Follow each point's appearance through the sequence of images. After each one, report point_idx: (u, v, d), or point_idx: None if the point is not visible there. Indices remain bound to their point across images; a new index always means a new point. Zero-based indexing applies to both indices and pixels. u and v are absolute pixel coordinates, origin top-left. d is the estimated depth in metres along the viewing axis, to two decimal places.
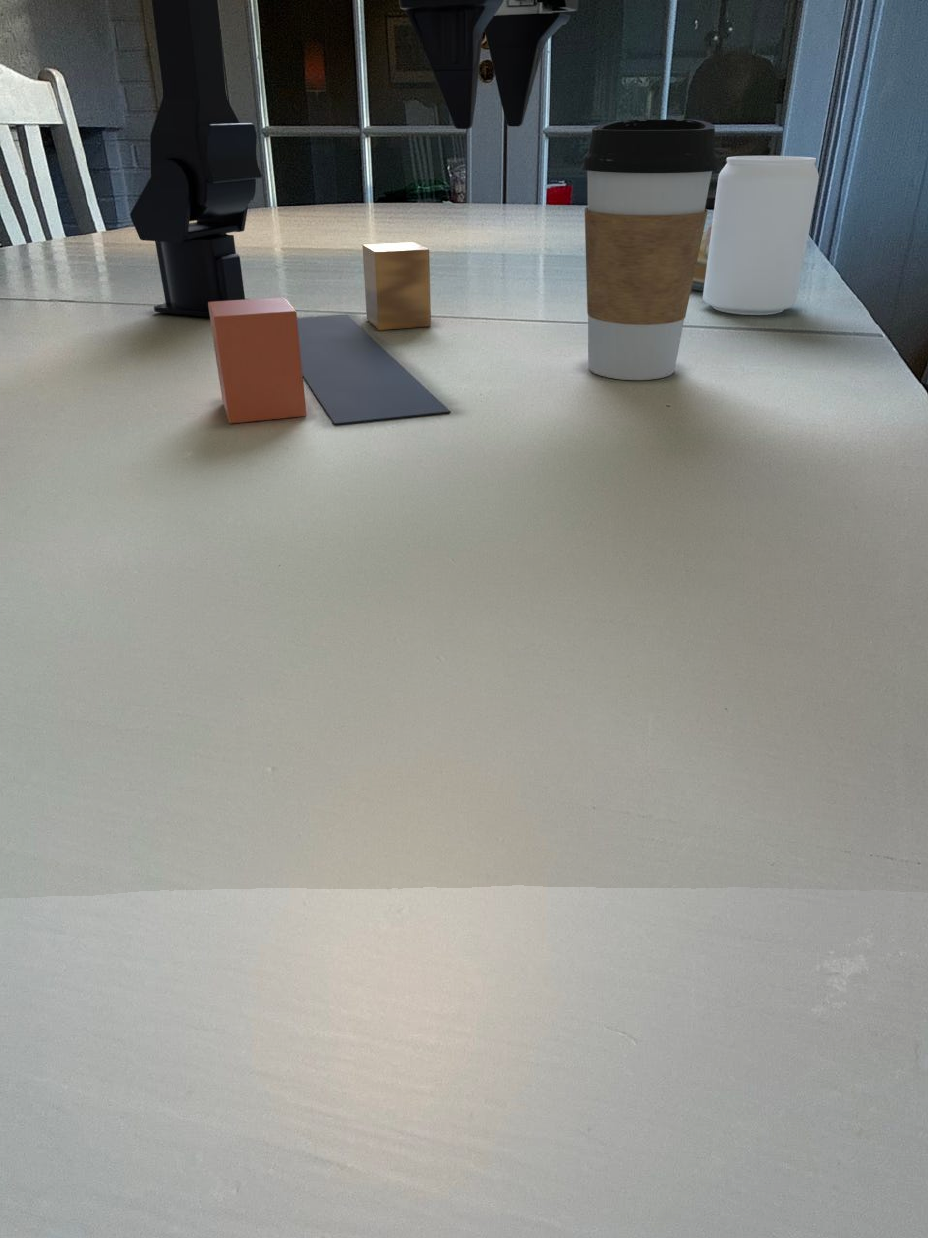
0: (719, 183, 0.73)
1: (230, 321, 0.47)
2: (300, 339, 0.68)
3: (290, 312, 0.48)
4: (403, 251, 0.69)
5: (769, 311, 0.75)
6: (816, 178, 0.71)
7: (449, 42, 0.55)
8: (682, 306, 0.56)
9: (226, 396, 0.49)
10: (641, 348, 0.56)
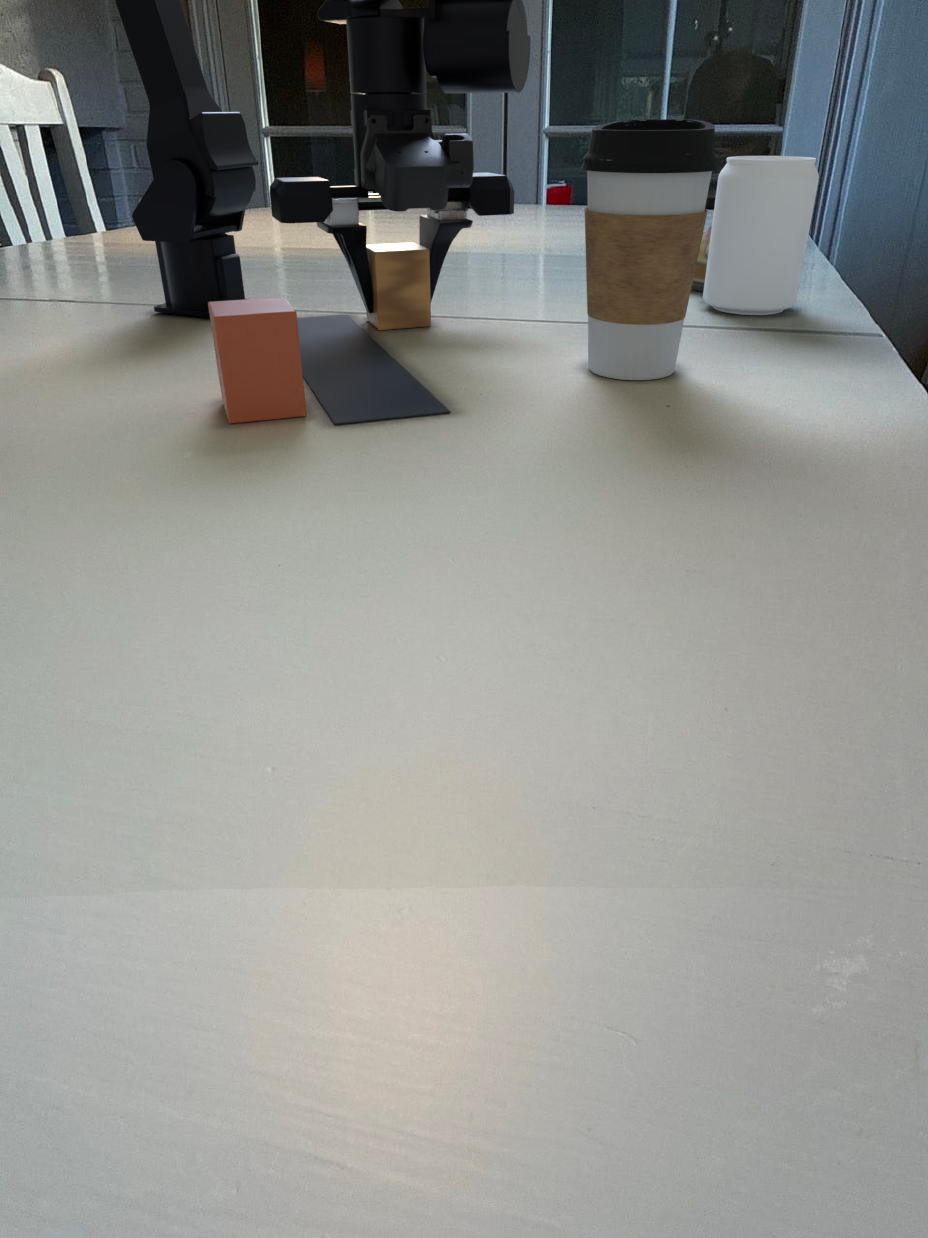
0: (719, 183, 0.73)
1: (230, 321, 0.47)
2: (300, 339, 0.68)
3: (290, 312, 0.48)
4: (403, 251, 0.69)
5: (769, 311, 0.75)
6: (816, 178, 0.71)
7: None
8: (682, 306, 0.56)
9: (226, 396, 0.49)
10: (641, 348, 0.56)
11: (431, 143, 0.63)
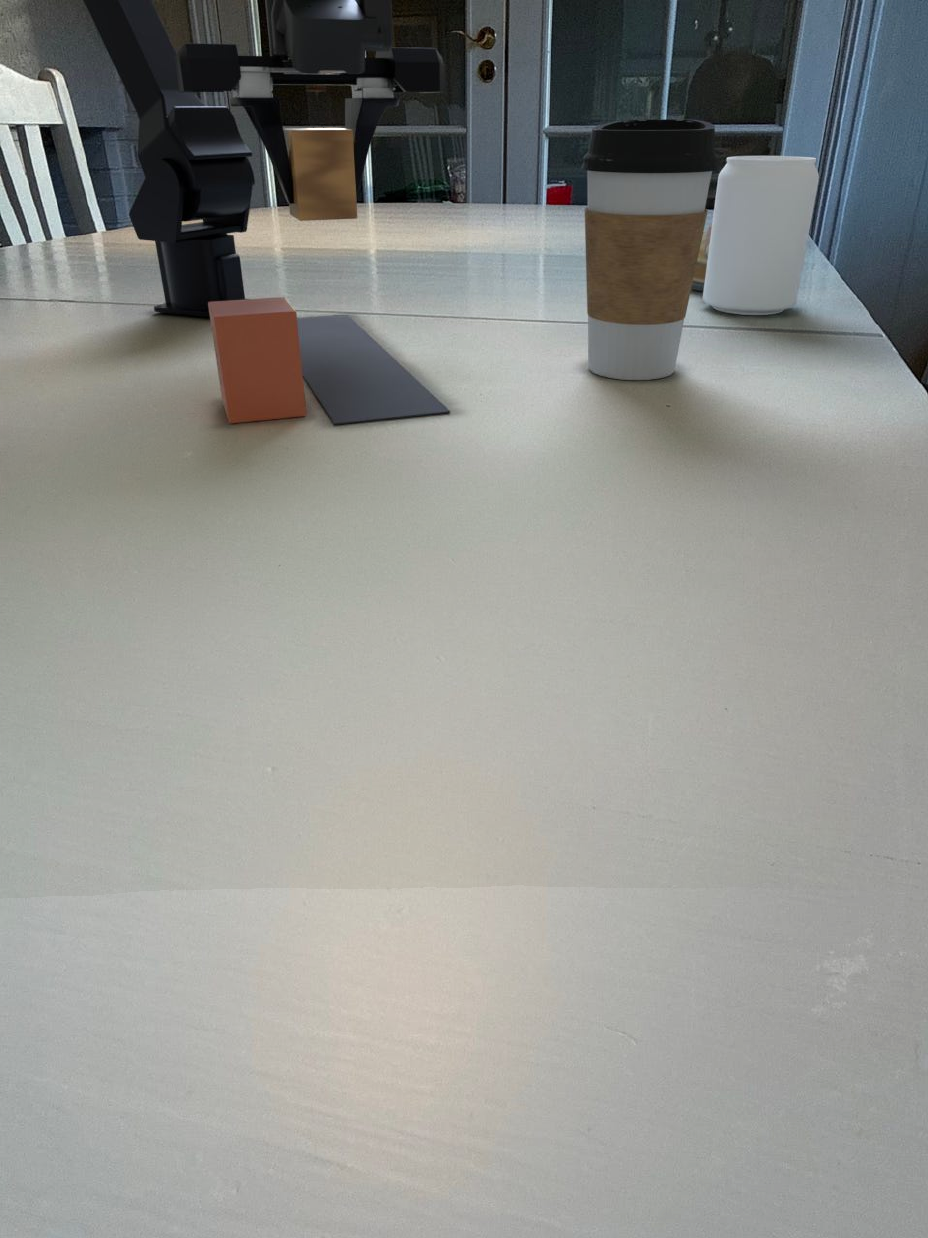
0: (719, 183, 0.73)
1: (230, 321, 0.47)
2: (300, 339, 0.68)
3: (290, 312, 0.48)
4: (323, 130, 0.63)
5: (769, 311, 0.75)
6: (816, 178, 0.71)
7: None
8: (682, 306, 0.56)
9: (226, 396, 0.49)
10: (641, 348, 0.56)
11: (346, 0, 0.57)
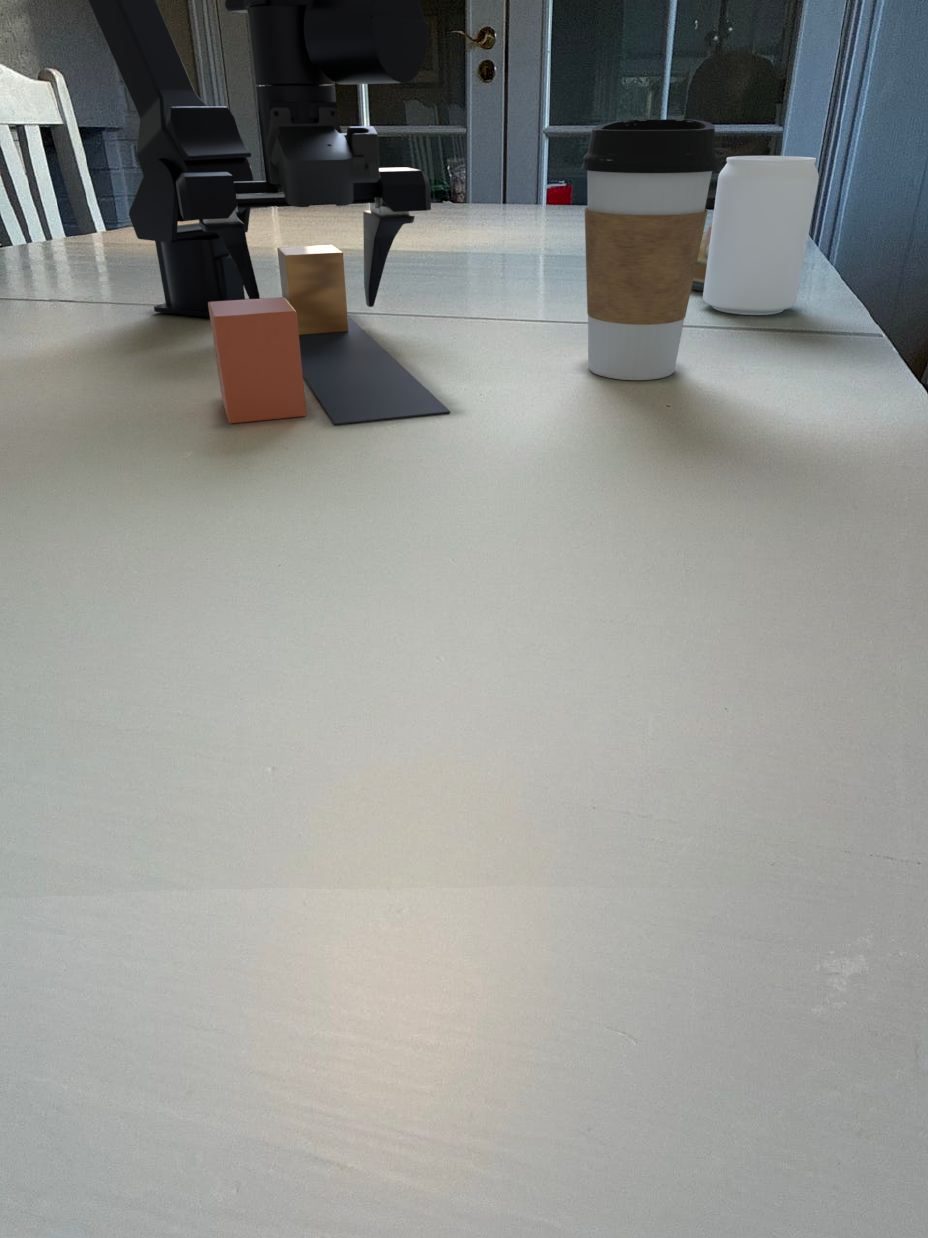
0: (719, 183, 0.73)
1: (230, 321, 0.47)
2: (300, 339, 0.68)
3: (290, 312, 0.48)
4: (315, 254, 0.67)
5: (769, 311, 0.75)
6: (816, 178, 0.71)
7: None
8: (682, 306, 0.56)
9: (226, 396, 0.49)
10: (641, 348, 0.56)
11: (336, 137, 0.61)
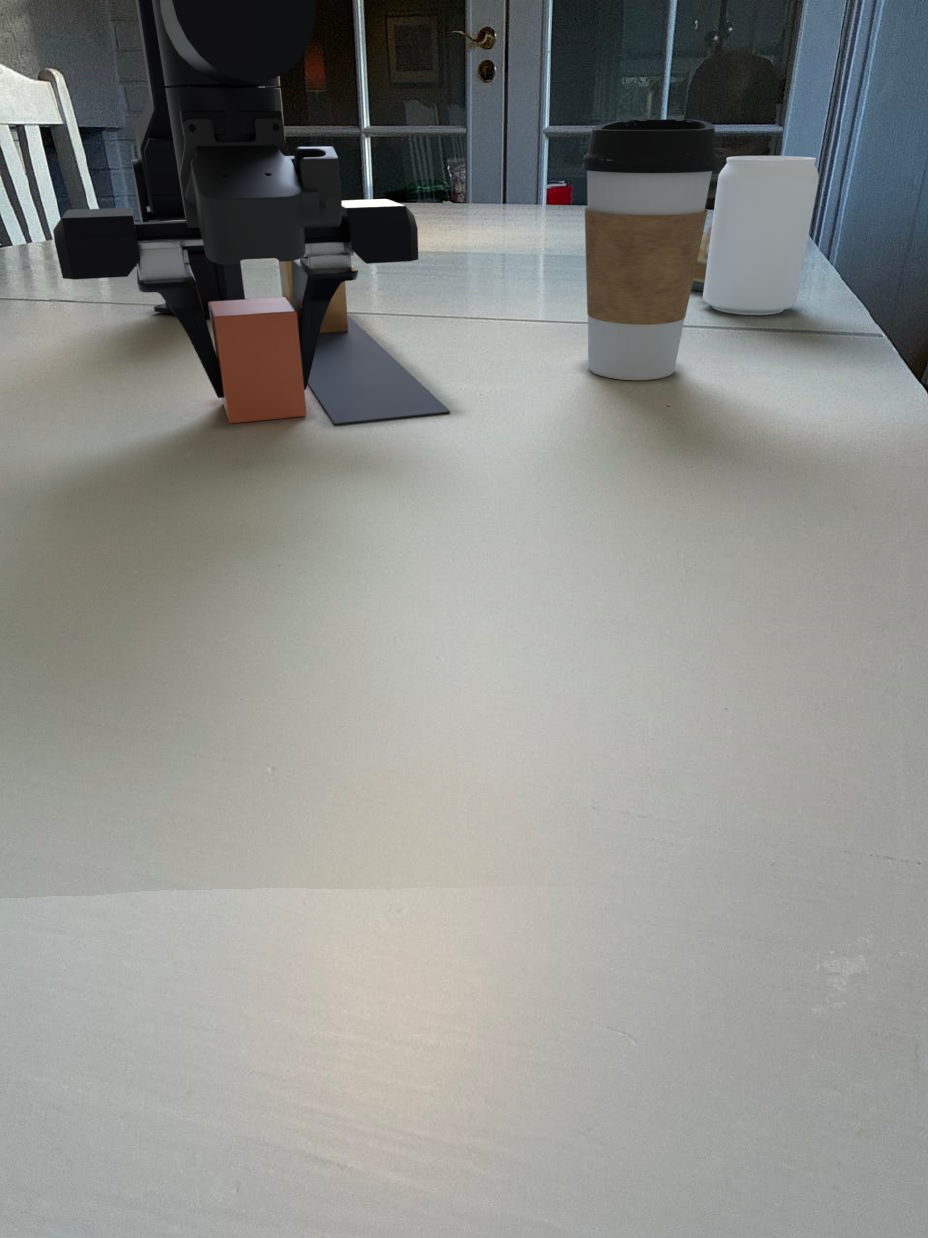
0: (719, 183, 0.73)
1: (230, 321, 0.48)
2: None
3: (290, 312, 0.48)
4: None
5: (769, 311, 0.75)
6: (816, 178, 0.71)
7: None
8: (682, 306, 0.56)
9: (226, 396, 0.49)
10: (641, 348, 0.56)
11: (279, 162, 0.42)
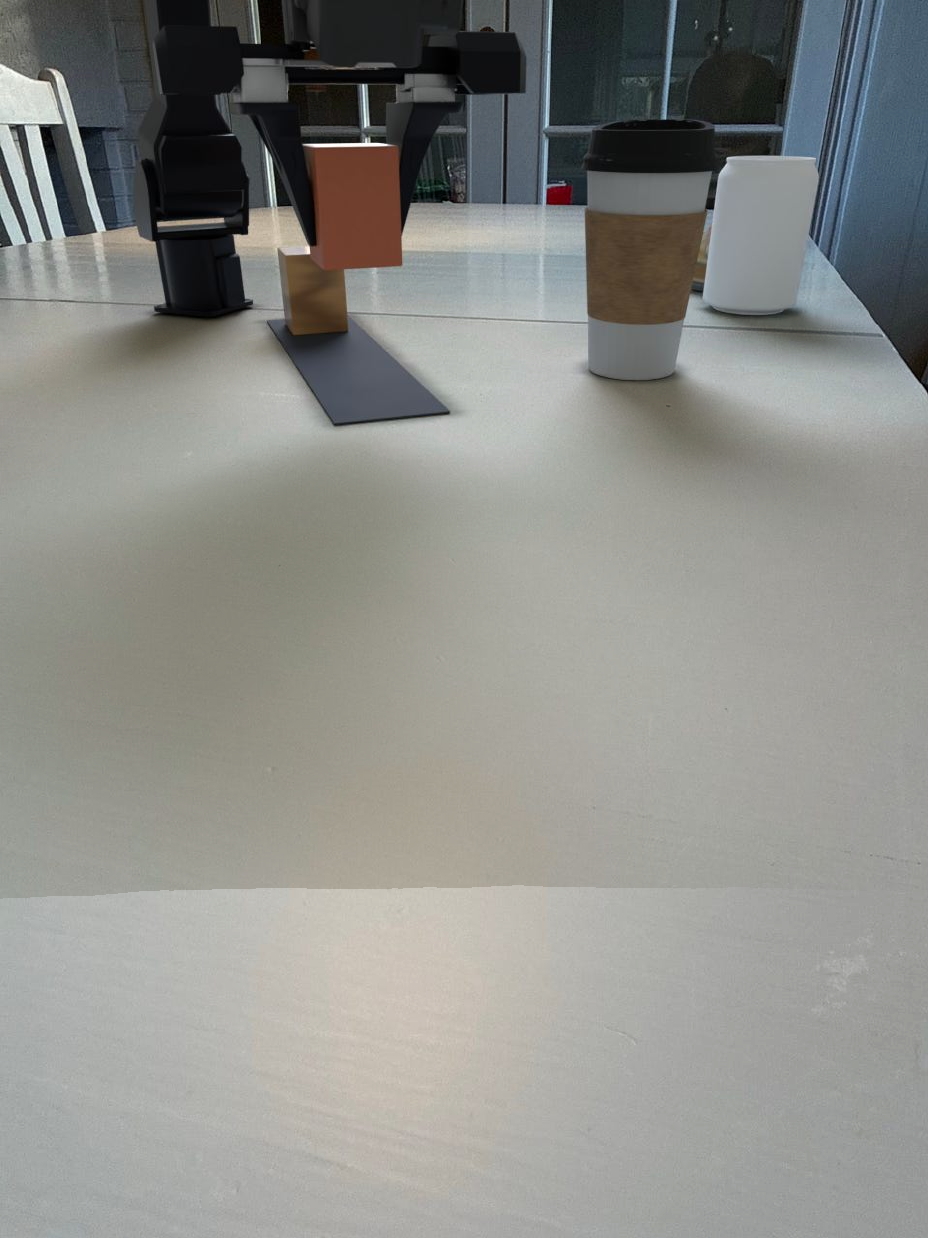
0: (719, 183, 0.73)
1: (330, 153, 0.45)
2: (300, 339, 0.68)
3: (392, 146, 0.46)
4: None
5: (769, 311, 0.75)
6: (816, 178, 0.71)
7: None
8: (682, 306, 0.56)
9: (322, 239, 0.47)
10: (641, 348, 0.56)
11: None
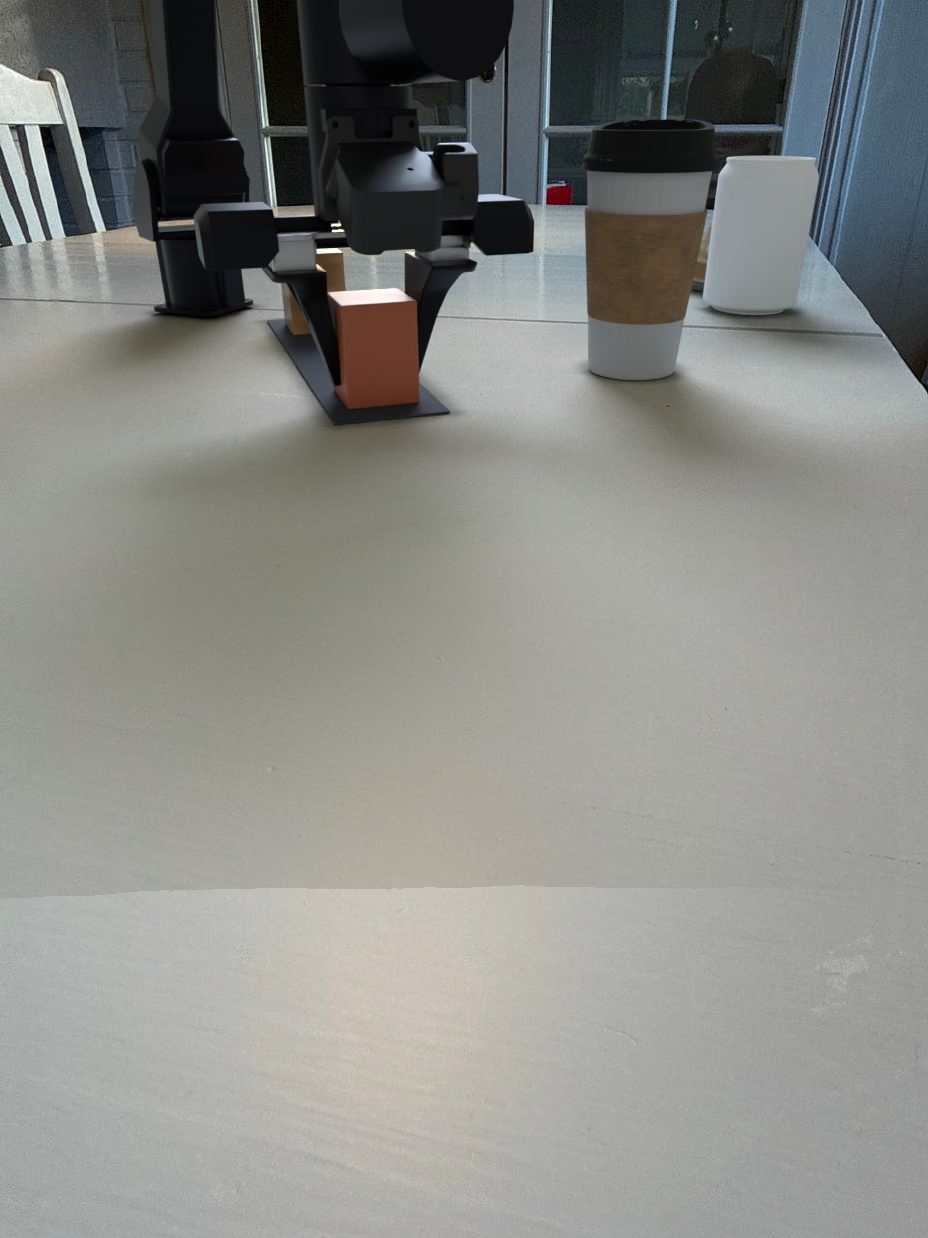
0: (719, 183, 0.73)
1: (355, 310, 0.49)
2: (300, 339, 0.68)
3: (411, 302, 0.50)
4: None
5: (769, 311, 0.75)
6: (816, 178, 0.71)
7: None
8: (682, 306, 0.56)
9: (347, 383, 0.51)
10: (641, 348, 0.56)
11: (417, 157, 0.44)
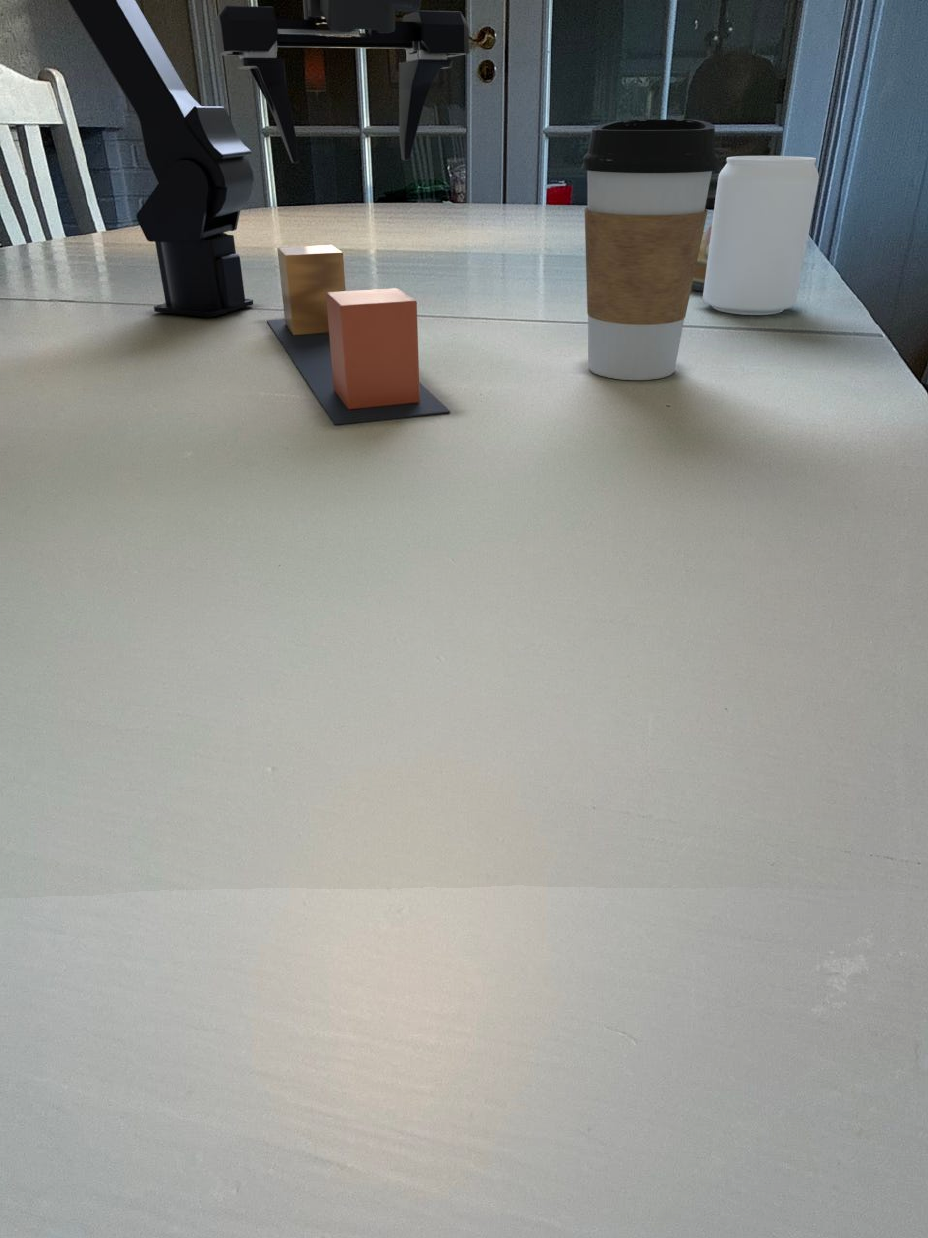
0: (719, 183, 0.73)
1: (355, 310, 0.49)
2: (300, 339, 0.68)
3: (411, 302, 0.50)
4: (315, 254, 0.67)
5: (769, 311, 0.75)
6: (816, 178, 0.71)
7: None
8: (682, 306, 0.56)
9: (347, 383, 0.51)
10: (641, 348, 0.56)
11: None
